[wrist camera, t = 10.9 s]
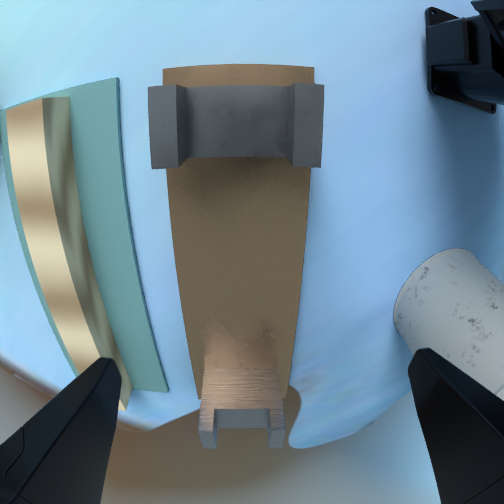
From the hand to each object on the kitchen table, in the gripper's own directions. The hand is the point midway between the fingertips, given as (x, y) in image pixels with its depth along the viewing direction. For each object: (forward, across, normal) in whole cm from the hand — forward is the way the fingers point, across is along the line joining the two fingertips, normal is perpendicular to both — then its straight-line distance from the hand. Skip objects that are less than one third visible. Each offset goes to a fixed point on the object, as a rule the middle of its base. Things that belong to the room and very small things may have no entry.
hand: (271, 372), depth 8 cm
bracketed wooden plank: (+12, +1, +4) cm, 13 cm away
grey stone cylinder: (+12, -16, +7) cm, 21 cm away
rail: (+12, +13, +4) cm, 18 cm away
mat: (+12, +13, +4) cm, 18 cm away
